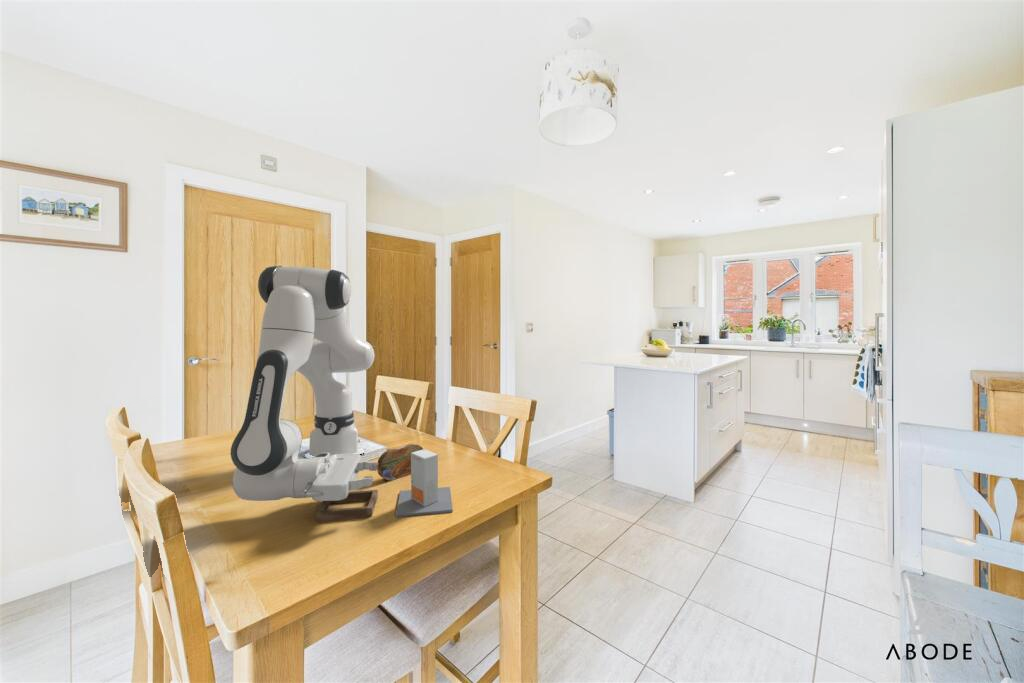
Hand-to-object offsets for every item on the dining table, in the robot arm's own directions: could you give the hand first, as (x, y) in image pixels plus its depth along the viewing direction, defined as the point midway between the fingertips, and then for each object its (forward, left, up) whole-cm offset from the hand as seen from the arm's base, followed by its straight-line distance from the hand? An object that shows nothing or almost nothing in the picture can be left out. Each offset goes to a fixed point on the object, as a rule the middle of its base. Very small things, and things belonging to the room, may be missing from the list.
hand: (374, 473), depth 95 cm
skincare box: (0, +12, -8) cm, 14 cm away
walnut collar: (0, -6, -8) cm, 10 cm away
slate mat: (0, +12, -8) cm, 15 cm away
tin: (-19, +5, -9) cm, 21 cm away
